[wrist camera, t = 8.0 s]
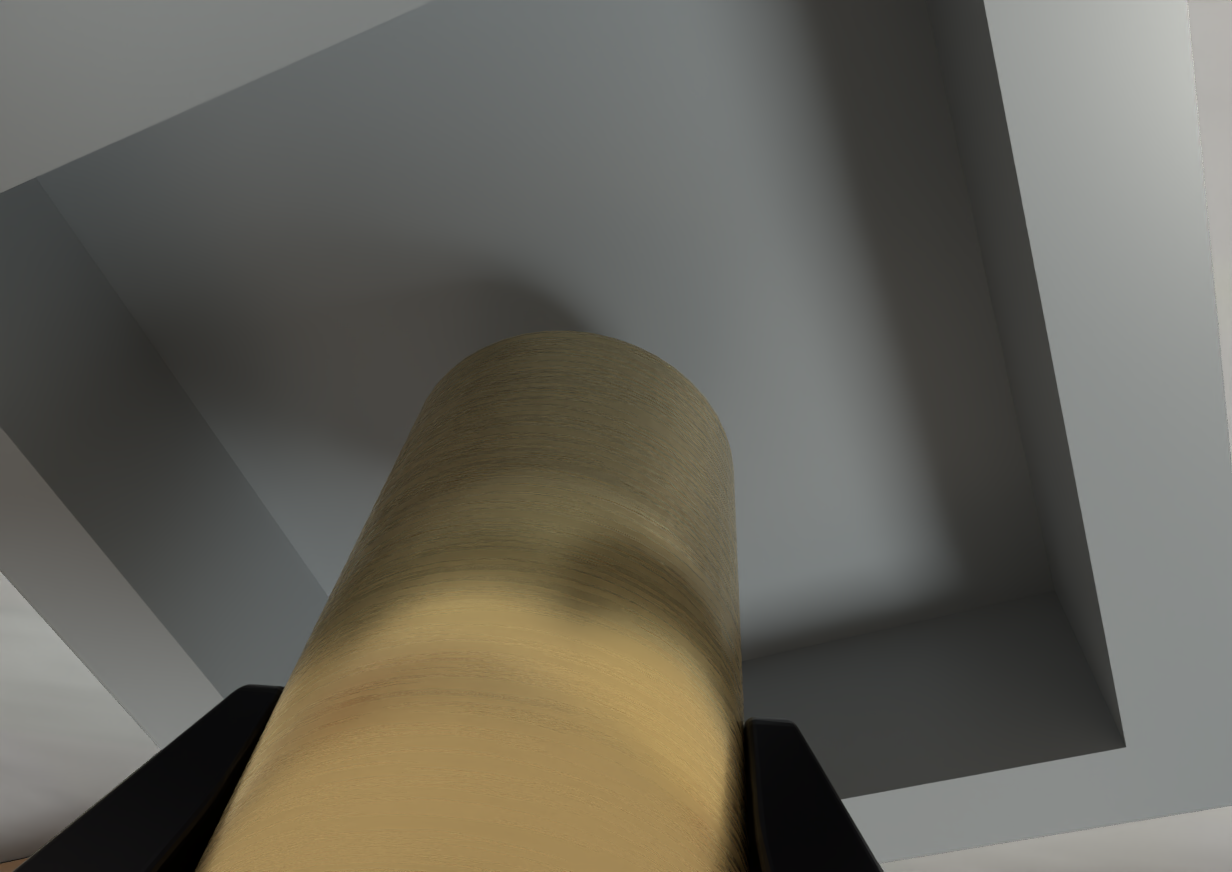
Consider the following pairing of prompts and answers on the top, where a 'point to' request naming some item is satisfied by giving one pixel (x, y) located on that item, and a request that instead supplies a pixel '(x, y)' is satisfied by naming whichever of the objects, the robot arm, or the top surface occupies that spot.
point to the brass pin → (522, 641)
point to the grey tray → (652, 349)
